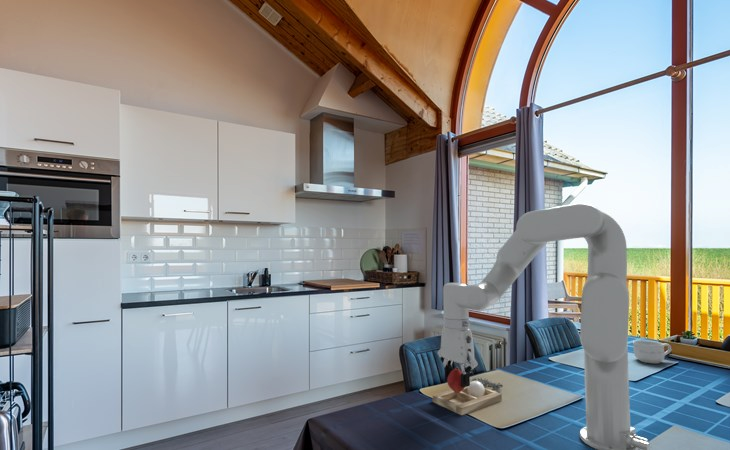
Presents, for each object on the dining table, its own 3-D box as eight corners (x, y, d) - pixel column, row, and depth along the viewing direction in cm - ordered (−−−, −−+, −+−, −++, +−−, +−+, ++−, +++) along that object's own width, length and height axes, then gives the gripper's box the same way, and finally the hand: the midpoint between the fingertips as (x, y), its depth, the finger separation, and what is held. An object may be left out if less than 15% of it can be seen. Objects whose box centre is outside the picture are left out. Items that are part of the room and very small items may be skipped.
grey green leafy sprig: (504, 398, 129) (504, 385, 129) (483, 400, 128) (483, 387, 128) (488, 386, 139) (488, 374, 140) (468, 387, 138) (468, 376, 138)
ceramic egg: (488, 398, 125) (488, 381, 125) (477, 402, 122) (477, 385, 122) (475, 393, 129) (475, 377, 129) (464, 397, 126) (464, 380, 126)
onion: (443, 391, 122) (443, 365, 123) (458, 388, 125) (458, 362, 125) (455, 398, 117) (454, 370, 117) (470, 394, 119) (470, 367, 120)
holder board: (502, 404, 123) (501, 394, 123) (462, 419, 113) (461, 408, 113) (471, 392, 133) (471, 382, 133) (432, 405, 123) (432, 395, 123)
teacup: (638, 364, 161) (637, 344, 162) (629, 357, 172) (628, 338, 172) (679, 367, 157) (678, 346, 157) (667, 359, 167) (666, 340, 168)
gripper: (487, 326, 117) (488, 389, 116) (444, 317, 131) (445, 373, 130) (469, 330, 112) (470, 394, 112) (427, 320, 127) (428, 377, 126)
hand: (456, 382), depth 121 cm, fingers closed on onion, 5 cm apart
